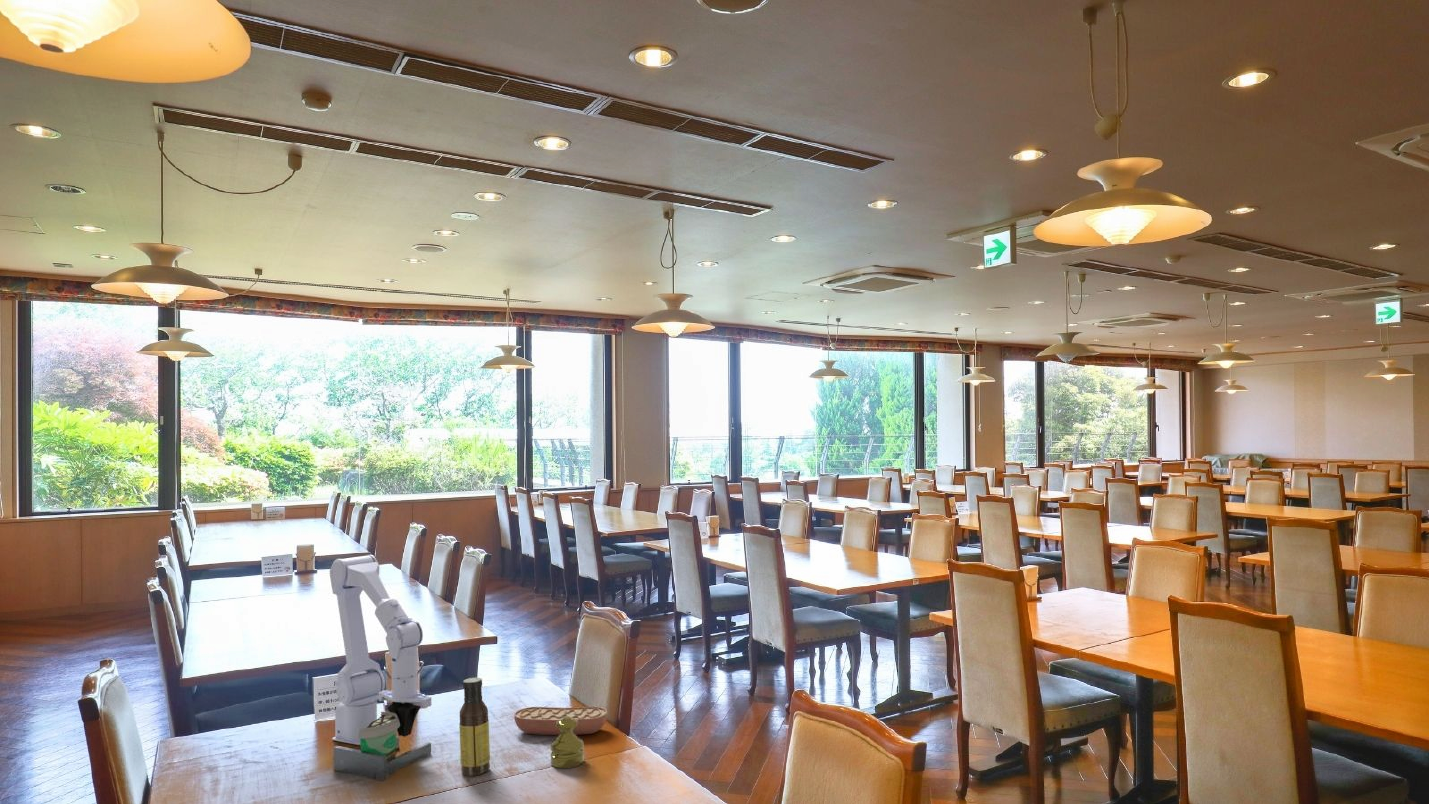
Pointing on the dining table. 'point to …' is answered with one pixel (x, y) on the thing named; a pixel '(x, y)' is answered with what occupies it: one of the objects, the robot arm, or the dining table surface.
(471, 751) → the sauce bottle
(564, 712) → the terracotta bread basket
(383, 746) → the food container
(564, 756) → the olive rounded piece
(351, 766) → the dock
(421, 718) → the dining table surface
